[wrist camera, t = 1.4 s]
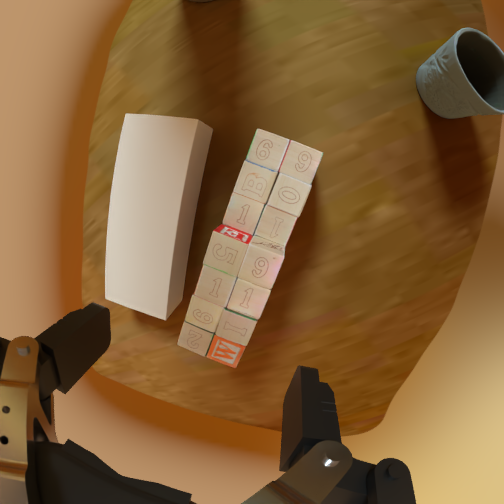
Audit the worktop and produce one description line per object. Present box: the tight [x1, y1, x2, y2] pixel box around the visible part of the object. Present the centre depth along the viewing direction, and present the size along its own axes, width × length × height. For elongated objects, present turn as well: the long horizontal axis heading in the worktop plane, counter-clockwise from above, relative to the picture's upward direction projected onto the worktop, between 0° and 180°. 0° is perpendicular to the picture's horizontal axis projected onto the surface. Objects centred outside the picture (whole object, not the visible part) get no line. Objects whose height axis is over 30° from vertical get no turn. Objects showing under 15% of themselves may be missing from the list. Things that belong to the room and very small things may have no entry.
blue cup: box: [416, 28, 504, 119], centre depth 20 cm, size 10×10×12 cm
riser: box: [105, 114, 213, 320], centre depth 31 cm, size 23×9×6 cm, turn 167°
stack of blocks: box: [177, 129, 323, 368], centre depth 28 cm, size 21×6×12 cm, turn 159°
